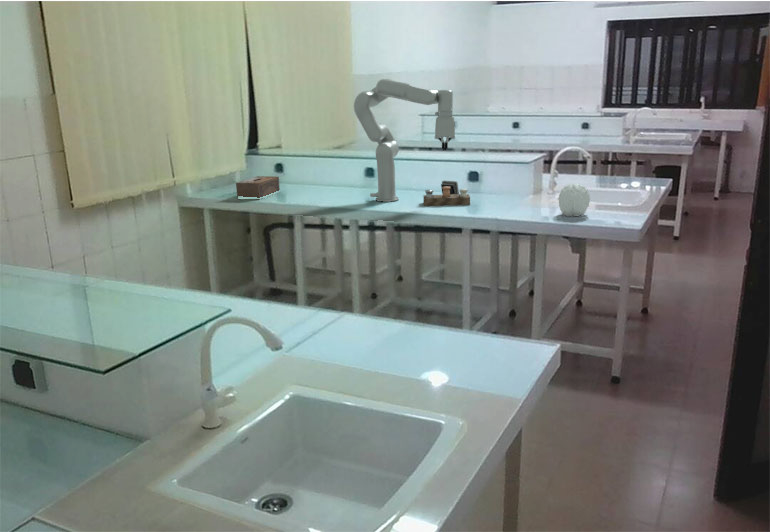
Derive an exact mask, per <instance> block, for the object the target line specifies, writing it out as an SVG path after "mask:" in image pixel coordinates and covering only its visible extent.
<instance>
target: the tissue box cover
mask: <svg viewBox="0 0 770 532" xmlns="http://www.w3.org/2000/svg"><path fill="white" fill-rule="evenodd" d="M279 177H280V176H264V175H263V176H260V175H259V176H254V177H250V178H247V179H243V180H241V181H237V182H235V187H236V197H237V196H243V197H257V198H260V197H263V196H266V195H269V194H271V193H274V192H276V191H279V190H281V189H280V178H279Z"/></svg>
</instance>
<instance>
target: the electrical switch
mask: <svg viewBox="0 0 770 532" xmlns="http://www.w3.org/2000/svg"><path fill="white" fill-rule="evenodd" d="M445 186H448V187H450V195H451V194H460V189H459V184H458V181H456V180H442V181H441V183H440V187H441V193H442V194H441V195H443V189H442V187H445Z"/></svg>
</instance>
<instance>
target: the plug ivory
mask: <svg viewBox="0 0 770 532" xmlns="http://www.w3.org/2000/svg"><path fill="white" fill-rule="evenodd" d="M468 192H469V191H468V188H459V194H460V197H465V196H467V194H468Z"/></svg>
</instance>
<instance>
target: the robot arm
mask: <svg viewBox="0 0 770 532" xmlns="http://www.w3.org/2000/svg"><path fill="white" fill-rule="evenodd" d="M453 96H454V94H453V91H452V90H451V89H440V90H438V89H433V88H432V89H427V88H426V89H425V88H420V87H416V86H412V85H410V84H409V83H407V82H400V81H396V80H392V79H389V78H384V79H383V78H382V79H380V80H378V81H377V83H376V86H375V87H373V88H372V89H371V90H364V91H362V92H360V93H358V94H357V96H356V97H355V99H354V102H353V111H354V113H355V115H356V118H357V119H358V121H359V123H360V124H361V126H362V128H363V131H364V132H365V134H366V136H367V137H368V139H369V140H370V141H371V142H373V143H377V147H376V148H375V160H376V165H377V166H376V169H377V171H376V172H377V192H370V197H372V198H375V201H376V200H377V201H376V202H379V201H383V202H382V203H388V202H389V203H391V201H392V202H396V201H399V197H398V196H396V167H395V166H396V165H395V159H394V158H395V157H396V156H397V155H398V153H399V149H400V148H399V145H398V142H397V140H396V139H395V138H394V136H393V134H392V132H391V131H390V129H389V127H388V126H387V125H385V124H384V123H382V122H379V121H378V120H377V118H376V116H375V114H374V113H373V111H372V110H371V108H374V107H375V106H377V105H379V104H380V103H383V101H385V100H387V99H388V98H392V99H398V100H402V101H406V102H409V103H410V102H411V103H416V104H418V105H419V104H420V105H424V106H425V105H426V106H430V105H437V111H435V112H434V115H435V116H437V117H436V118H435V124H434V125H435V130H434V139H435V140H438V141H440V143H441V149H442V151H447V149H448V148H449V146H448V145H449V144H448V143H449V142H450V141H451V140H454V139H456V135H455V134H456V133H455V132H456V128H455V127H456V126H455V117H453V103H454V102H453V101H454V99H453ZM444 138H446V139H444Z"/></svg>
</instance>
